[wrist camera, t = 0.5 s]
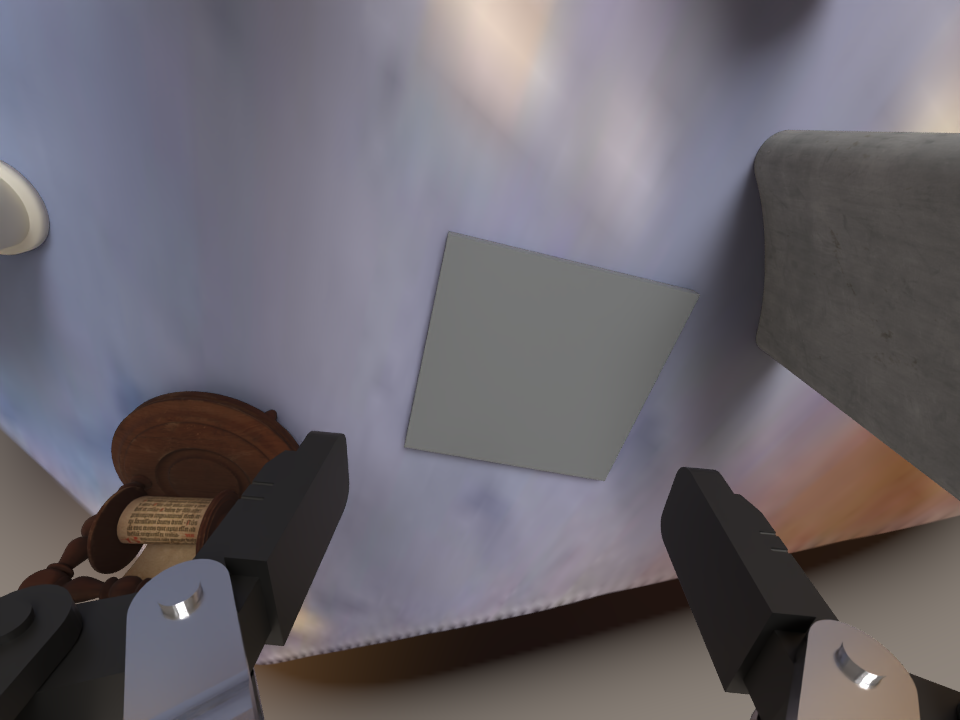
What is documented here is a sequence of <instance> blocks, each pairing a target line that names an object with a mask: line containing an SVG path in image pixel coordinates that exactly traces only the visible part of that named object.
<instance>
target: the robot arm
mask: <svg viewBox="0 0 960 720" xmlns="http://www.w3.org/2000/svg"><path fill="white" fill-rule="evenodd" d="M348 492H349V473H348V459H347V445H346V437H345V435H344V434H341V433H330V432H320V431H311V432H310V433H309V434H308V435H307V436H306V438H305V439H304V441H303V442H302V444H301V445H300V446H299V448H298V449H297V451H289V450H285V451H283V452H282V453H280V454H279V455H277V456H276V457H275V458H273V459H272V460H270V461H269V462H267V463H266V464H265V465H264V466H263V468H262V469H261V470H260V472H259V473H258V474H257V476H256V477H255V478H254V479H253V481H252V485H251V484H250V485H249V486H248V487H247V489H246V490H245V491H244V493H243V494H242V495H241V499H238V501H237V502H236V503H235V505H234V506H233V507H232V508H231V510H230V511H229V512H228V514H227V515H226V516H225V518H224V519H223V520H222V522H221V523H220V524H219V526H218V527H217V528H216V530H215V531H214V532H213V534H212V535H211V536H210V538H209V539H208V540H207V541H206V543H205V544H204V545H203V547H202V548H201V549H200V551H199V552H198V553H197V555H196V556H195V557H194V558H193V559H192V560H190V561H185V562H182V563H179V564H177V565H174V566H172V567H170V568H168V569H166V570H164V571H162V572H161V573H159V574H158V575H156V576H155V577H153V578H152V579H151V580H150V581H149V582H147V583H146V584H145V585H144V586H143V587H142V588H141V589H140V590H139V592H136V593H132V594H127V595H122V596H117V597H111V598H106V599H101V600H96V601H90V602H85V603H80V604H75V602H74V600H73V598H72V596H71V595H70V593H69V591H68V590H67V589H65V588H64V587H61V586H58V585H52V584H44V585H36V586H31V587H27V588H23V589H20V590H17V591H14V592H12V593H9V594H8V595H5V596H3V597H0V720H264V715H263V710H262V705H261V700H260V695H259V690H258V685H257V680H256V676H255V671H254V665H255V663H256V661H257V659H258V657H259V655H260V653H261V651H262V649H263V647H264V644H268V645H278V646H284V645H285V642H286V640H287V638H288V636H289V633H290V631H291V629H292V627H293V624H294V622H295V620H296V618H297V615H298V613H299V611H300V609H301V606H302V604H303V602H304V599H305V597H306V595H307V593H308V590H309V588H310V586H311V584H312V581H313V579H314V577H315V575H316V572H317V570H318V568H319V566H320V563H321V561H322V559H323V556H324V554H325V552H326V550H327V547H328V545H329V543H330V541H331V538H332V536H333V534H334V532H335V529H336V527H337V525H338V523H339V520H340V518H341V516H342V513H343V511H344V509H345V506H346V502H347V498H348ZM775 533H776V532H775V531H774V529H773V528H772V527H771V525H770V524H769V522H768V521H767V520H766V518H765V517H764V515H763V514H762V513H761V512H760V511H759V510H758V509H757V508H756V507H754V506H753V505H752V504H751V503H750V502H748V501H747V500H746V499H745V498H744V497H743V496H741V495H740V494H734V493H733V492H732V490H731V489H730V487H729V486H728V484H727V483H726V481H725V480H724V478H723V477H722V475H721V474H720V473H719V472H718V471H716V470H710V469H700V468H689V467H682V468H680V469H679V470H678V472H677V474H676V477H675V479H674V482H673V485H672V488H671V490H670V493H669V496H668V499H667V501H666V504H665V507H664V510H663V513H662V517H661V534H662V539H663V542H664V544H665V547H666V549H667V552H668V554H669V557H670V559H671V561H672V564H673V566H674V569H675V571H676V574H677V576H678V578H679V581H680V583H681V586H682V588H683V591H684V593H685V595H686V598H687V600H688V603H689V605H690V608H691V610H692V613H693V615H694V618H695V620H696V622H697V625H698V627H699V629H700V632H701V635H702V637H703V639H704V642H705V644H706V647H707V649H708V652H709V654H710V656H711V659H712V661H713V664H714V666H715V669H716V671H717V674H718V676H719V678H720V681H721V683H722V686H723V688H724V690H725V692H730V693H741V694H750V696H751V698H752V701H753V703H754V705H755V707H756V709H755V710H754V712H753V714H752V715H751V718H750V720H960V692H958V691H955V690H952V689H950V688H947V687H945V686H942V685H939V684H937V683H934V682H931V681H929V680H926V679H923V678H921V677H918V676H915V675H913V674H910V673H908V672H907V670H906V669H905V668H904V666H903V665H902V664H901V663H900V662H899V660H898V659H897V658H896V657H895V656H894V655H893V654H892V653H891V652H890V651H889V650H888V649H887V648H885V647H884V646H883V645H882V644H880V643H879V642H878V641H876V640H875V639H873V638H872V637H871V636H870V635H868V634H866V633H864V632H863V631H861V630H859V629H857V628H855V627H853V626H851V625H848V624H846V623H843V622H839V620H838V619H837V618H836V616H835V615H834V614H833V612H832V611H831V609H830V608H829V606H828V605H827V604H826V602H825V601H824V600H823V598H822V597H821V595H820V594H819V592H818V591H817V590H816V588H815V587H814V586H813V584H812V583H811V581H810V580H809V578H808V577H807V576H806V574H805V573H804V571H803V570H802V569H801V567H800V566H799V565H798V563H797V562H796V560H795V559H794V557H793V556H792V555H791V554H788V551H787V550H788V549H787V548H786V546H785V545H784V543H783V542H782V541H781V539H780V538H779V536H776V535H775Z"/></svg>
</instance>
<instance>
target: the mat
mask: <svg viewBox="0 0 960 720" xmlns="http://www.w3.org/2000/svg"><path fill="white" fill-rule="evenodd" d="M699 296H700V295H699V294H698V293H696V292H695V291H693V290H690V289H685V288H681V287H677V286H673V285H669V284H665V283H661V282H657V281H652V280H648V279H644V278H640V277H636V276H632V275H628V274H624V273H619V272H615V271H611V270H607V269H603V268H599V267H595V266H591V265H586V264H582V263H578V262H574V261H570V260H566V259H562V258H558V257H553V256H549V255H545V254H541V253H537V252H533V251H529V250H525V249H520V248H516V247H512V246H508V245H504V244H500V243H496V242H492V241H487V240H483V239H479V238H475V237H471V236H467V235H463V234H459V233H454V232H450V231H449V233H448V237H447V242H446V247H445V252H444V257H443V262H442V266H441V271H440V276H439V281H438V286H437V291H436V295H435V300H434V305H433V310H432V315H431V320H430V325H429V329H428V334H427V339H426V344H425V349H424V354H423V358H422V363H421V368H420V373H419V378H418V383H417V388H416V392H415V397H414V402H413V407H412V412H411V417H410V421H409V426H408V431H407V436H406V441H405V446H404V447H406V448H412V449H418V450H423V451H429V452H435V453H441V454H447V455H453V456H459V457H465V458H471V459H477V460H483V461H489V462H494V463H500V464H506V465H512V466H518V467H524V468H530V469H536V470H542V471H548V472H554V473H559V474H565V475H571V476H577V477H583V478H589V479H595V480H601V481H605V479H606V477H607V475H608V473H609V471H610V469H611V467H612V465H613V464H614V462H615V460H616V458H617V456H618V454H619V452H620V450H621V448H622V446H623V444H624V442H625V440H626V438H627V436H628V434H629V432H630V430H631V428H632V427H633V425H634V423H635V421H636V419H637V417H638V415H639V413H640V411H641V409H642V407H643V405H644V403H645V401H646V399H647V397H648V395H649V393H650V392H651V390H652V388H653V386H654V384H655V382H656V380H657V378H658V376H659V374H660V372H661V370H662V368H663V366H664V364H665V362H666V360H667V358H668V356H669V355H670V353H671V351H672V349H673V347H674V345H675V343H676V341H677V339H678V337H679V335H680V333H681V331H682V329H683V327H684V325H685V323H686V321H687V319H688V318H689V316H690V314H691V312H692V310H693V308H694V306H695V304H696V302H697V300H698V298H699Z"/></svg>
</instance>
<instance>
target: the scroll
mask: <svg viewBox="0 0 960 720" xmlns="http://www.w3.org/2000/svg"><path fill="white" fill-rule="evenodd" d="M276 418H277V413H276V411H275V410H269V411H267V412H265V413H264V412H262V411H261V410H259V409H257V408H255V407H253V406H251V405H249V404H247V403H244V402H242V401H239V400H237V399H234V398H230V397H227V396H223V395H219V394H214V393H208V392H197V391H184V392H174V393H168V394H164V395H161V396H158V397H155V398H152V399H150V400H148V401H146V402H144V403H143V404H141V405H140V406H138V407H137V408H136V409H135V410H134V411H133V412H132V413H130V414H129V415H128V416H127V417H126V418H125V419H124V420H123V421H122V422H121V423H120V425H119V426H118V428H117V430H116V431H115V434H114V436H113V440H112V448H111V453H112V460H113V464H114V467H115V470H116V472H117V474H118V476H119V478H120V480H121V481H122V483H123V484H124V485H123V486H121V487H120V488H119V490H118V492H116V493H115V494H113V495H112V496H111V497H110V498H109V499H108V500H107V501H106V502H105V503H104V505H103V506H102V507H101V509H100V510H99V512H98V513H97V514H96V515H94V516H92V517H90V518H89V519H87V520H86V521H85V523H84V524H83V526H82V529H81V534H82V537H79V538H76V539H74V540H73V541H71V542H70V543H69V544H68V546H67V547H66V549H65V551H64V553H63V555H62V557H61V559H60V561H59V563H53V564H50V565H49V566H48V567H47V569H44V570H40V571H38V572H36V573H34V574H32V575H30V576H29V577H28V578H27V579H25V580H24V581H23V583H22V584H21V585H20V587H19V589H18V590H20V589H23V588H27V587H31V586H36V585H44V584H52V585H58V586H61V587H64V588H65V589H67V590H68V591H69V593H70V595H71V596H72V598H73V600H74V602H75V603H79V602H84V601H88V600H91V599H95V598H98V597H99V600H101V599H106V598H111V597H117V596H122V595H127V594H132V593H136V592H139V590H140V589H141V588H142V587H143V586H144V585H145V584H146V583H147V582H149V581H150V580H151V579H152V578H153V577H155V576H156V575H158V574H159V573H161V572H162V571H164V570H166V569H168V568H170V567H172V566H174V565H177V564H179V563H182V562H185V561H190V560H192V559H193V558H194V557H195V556H196V555H197V553H198V552H199V551H200V549H201V548H202V547H203V545H204V544H205V543H206V541H207V540H208V539H209V538H210V536H211V535H212V534H213V532H214V531H215V530H216V528H217V527H218V526H219V524H220V523H221V522H222V520H223V519H224V518H225V516H226V515H227V514H228V512H229V511H230V510H231V508H232V507H233V506H234V505H235V503H236V502H237V501H238V499H241V495H242V494H243V493H244V491H245V490H246V489H247V487H248V486H249V485H250V484H251V485H252V481H253V479H254V478H255V477H256V476H257V474H258V473H259V472H260V470H261V469H262V468H263V466H264V465H265V464H266V463H267V462H269V461H270V460H272V459H273V458H275V457H276V456H277V455H279V454H280V453H282V452H283V451H285V450H289V451H297V449H298V448H299V445H298V444H297V442H296V441H295V440H294V438H293V437H292V436H291V435H290V434H289V432H288V431H287V430H286V429H285V428H284V427H283V426H281V425H280V424H279V423H278V422H277V421H276ZM143 544H147V546H146V548H145V549H144V551H143V552H142V554H141V555H140V556H139V558H138V559H137V560H136V562H135V563H134V564H133V566H132V567H131V568H130V569H129V570H128V572H127V573H126V574H125V575H124V576H123V577H122V578H120V579H119V580H118V579H117V578H116V577H111V578H109V579H108V580H107V581H106V582H102V581H100V580H97V579H94V578H92V577H88V576H87V577H86V576H81V577H78V578H75V579H73V580H72V579H71V578H72V577H73V575H74V572H73V568H75V567H76V566H78V565H79V564H80V563H82V562H83V561H85V560H86V559H89V562H90V564H91V566H92V567H93V569H94V570H96V571H97V572H99V573H102V574H103V573H104V574H110V573H114V572H117V571H119V570H121V569H123V568H124V567H125V566H127V565H128V564H129V563H130V562H131V561H132V560H133V559H134V558H135V556H136V555H137V554H138V552H139V551H140V549H141V548H142V546H143Z"/></svg>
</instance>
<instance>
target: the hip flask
mask: <svg viewBox="0 0 960 720" xmlns="http://www.w3.org/2000/svg"><path fill="white" fill-rule="evenodd" d="M754 171H755V176H756V180H757V184H758V189H759V194H760V200H761V206H762V214H763V224H764V238H765V278H764V292H763V301H762V309H761V315H760V320H759V325H758V330H757V334H756V343H757V345H758V347H759V348H760V349H762V350H763V351H764V352H766V353H767V354H768V355H769V356H771V357H772V358H773V359H775V360H776V361H777V362H779V363H780V364H781V365H783V366H784V367H785V368H786V369H788V370H789V371H790V372H792V373H793V374H794V375H796V376H797V377H798V378H800V379H801V380H802V381H803V382H805V383H806V384H807V385H809V386H810V387H811V388H813V389H814V390H815V391H817V392H818V393H819V394H821V395H822V396H823V397H824V398H826V399H827V400H828V401H830V402H831V403H832V404H834V405H835V406H836V407H838V408H839V409H840V410H841V411H843V412H844V413H845V414H847V415H848V416H849V417H851V418H852V419H853V420H855V421H856V422H857V423H859V424H860V425H861V426H862V427H864V428H865V429H866V430H868V431H869V432H870V433H872V434H873V435H874V436H876V437H877V438H878V439H879V440H881V441H882V442H883V443H885V444H886V445H887V446H889V447H890V448H891V449H893V450H894V451H895V452H896V453H898V454H899V455H900V456H902V457H903V458H904V459H906V460H907V461H908V462H910V463H911V464H912V465H914V466H915V467H916V468H917V469H919V470H920V471H921V472H923V473H924V474H925V475H927V476H928V477H929V478H931V479H932V480H933V481H934V482H936V483H937V484H938V485H940V486H941V487H942V488H944V489H945V490H946V491H948V492H949V493H950V494H951V495H953V496H954V497H955V498H957V499H958V500H959V501H960V133H918V132H865V131H812V130H785V131H781V132H778V133H776V134H774V135H773V136H771V137H770V138H769V139H768V140H766V141H765V142H764V144H763V145H762V146H761V148H760V149H759V151H758V153H757V155H756V158H755V162H754Z"/></svg>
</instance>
